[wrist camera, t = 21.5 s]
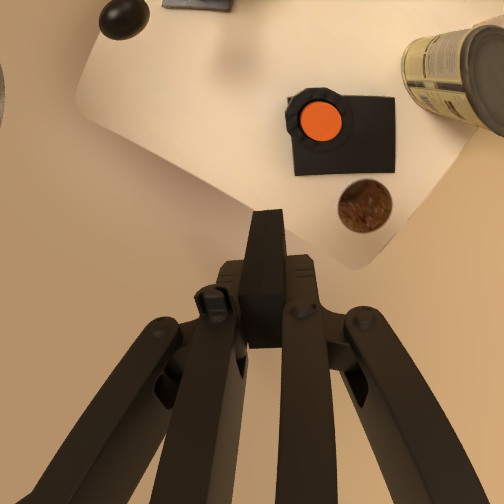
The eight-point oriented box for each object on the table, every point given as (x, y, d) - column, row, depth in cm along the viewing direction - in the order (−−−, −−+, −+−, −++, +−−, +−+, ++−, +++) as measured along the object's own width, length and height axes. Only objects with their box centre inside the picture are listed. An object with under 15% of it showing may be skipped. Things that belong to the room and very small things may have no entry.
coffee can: (470, 55, 22) (543, 58, 10) (461, 124, 27) (532, 154, 16) (403, 25, 22) (467, 3, 10) (394, 100, 28) (458, 115, 16)
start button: (301, 139, 28) (302, 142, 27) (298, 102, 26) (299, 103, 25) (339, 137, 28) (342, 140, 26) (337, 100, 26) (340, 101, 24)
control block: (290, 171, 34) (291, 181, 31) (281, 89, 29) (282, 89, 25) (388, 167, 32) (400, 177, 29) (387, 89, 27) (400, 90, 24)
